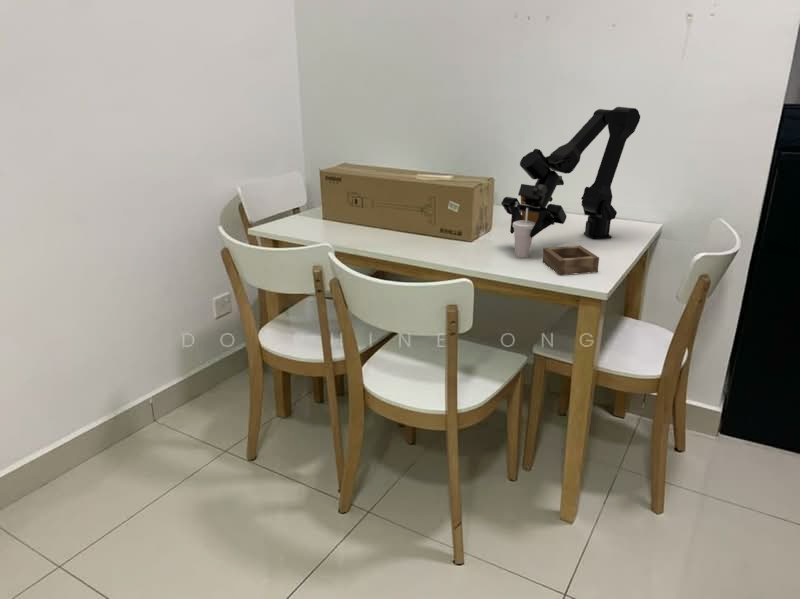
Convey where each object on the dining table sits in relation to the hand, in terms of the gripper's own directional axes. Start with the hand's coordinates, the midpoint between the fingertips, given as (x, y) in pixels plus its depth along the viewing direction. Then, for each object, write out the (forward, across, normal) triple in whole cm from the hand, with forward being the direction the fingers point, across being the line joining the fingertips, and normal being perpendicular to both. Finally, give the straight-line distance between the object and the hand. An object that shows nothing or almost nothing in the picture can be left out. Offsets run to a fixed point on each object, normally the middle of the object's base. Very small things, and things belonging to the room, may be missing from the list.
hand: (520, 234), depth 173 cm
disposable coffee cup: (-19, -17, +29) cm, 38 cm away
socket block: (+4, +15, +6) cm, 16 cm away
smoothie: (+4, 0, +6) cm, 7 cm away
